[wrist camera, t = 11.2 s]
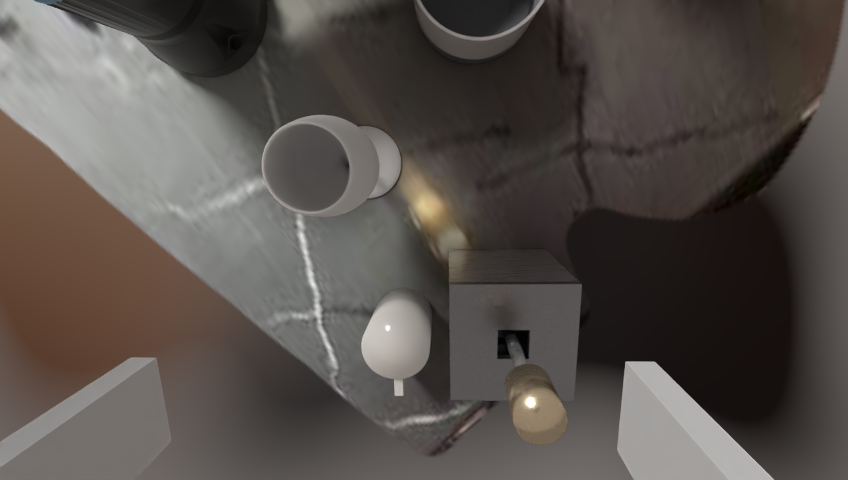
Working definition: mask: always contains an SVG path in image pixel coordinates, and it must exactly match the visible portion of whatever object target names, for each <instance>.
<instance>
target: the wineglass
mask: <svg viewBox="0 0 848 480" xmlns="http://www.w3.org/2000/svg"><path fill="white" fill-rule="evenodd" d="M400 171H401V156H400V152H399V149H398V147H397V145H396V144H395V142H394V141H393V139H392V138H391V137H390V136H389V135H388V134H386V133H385V132H384V131H382V130H380V129H378V128H375V127H371V126H359V127H358V126H356V125H355V124H353V123H351V122H349V121H347V120H345V119H342V118H339V117H335V116H330V115H312V116H307V117H303V118H299V119H296V120H294V121H291V122H289V123H287V124H285V125H284V126H282V127H281V128H279V129H278V130H277V131H276V132H275V133H274V134H273V135H272V136H271V137H270V139H269V140H268V142H267V144H266V146H265V149H264V152H263V156H262V173H263V178H264V181H265V184H266V186H267V188H268V190H269V191H270V193H271V194H272V196H273V197H274V198H275V199H276V200H277V201H278V202H279V203H280V204H281V205H282V206H284V207H285V208H287V209H289V210H291V211H293V212H295V213H298V214H302V215H306V216H312V217H333V216H338V215H342V214H345V213H347V212H349V211H352V210H353V209H355V208H357V207H358V206H359V205H361V204H362V203H363V202H364V201H365V200H366V199H367V198H375V197H379V196H381V195H383V194H385V193H386V192H388V191H389V190H390V189H391V188H392V187H393V186H394V184H395V183H396V181H397V179H398V177H399V174H400Z"/></svg>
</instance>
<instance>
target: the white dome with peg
mask: <svg viewBox="0 0 848 480" xmlns="http://www.w3.org/2000/svg"><path fill="white" fill-rule="evenodd" d="M431 329H432V309H431V306H430V304H429V302H428V301H427V299H426V298H425V297H424V296H423V295H421V294H420V293H418V292H416V291H414V290H411V289H405V288H401V289H395V290H392V291H390V292H388V293H387V294H385V295H384V296H383V297H382V298H381V299H380V301H379V303H378V305H377V307H376V309H375V311H374V313H373V316H372V318H371V320H370V322H369V324H368V327H367V329H366V331H365V333H364V335H363V338H362V344H361V349H362V354H363V357H364V359H365V361H366V363H367V364H368V366H369V367H370V368H371V369H372V370H373V371H374V372H376V373H377V374H379V375H381V376H383V377H386V378H390V379H394V386H395V396H403V395H404V389H405V383H406V378H408V377H411V376H413V375H415V374H416V373H418V372H419V371H420V370H421V369H422V368H423V367H424V366H425V364H426V362H427V360H428V357H429V353H430V341H431Z"/></svg>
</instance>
